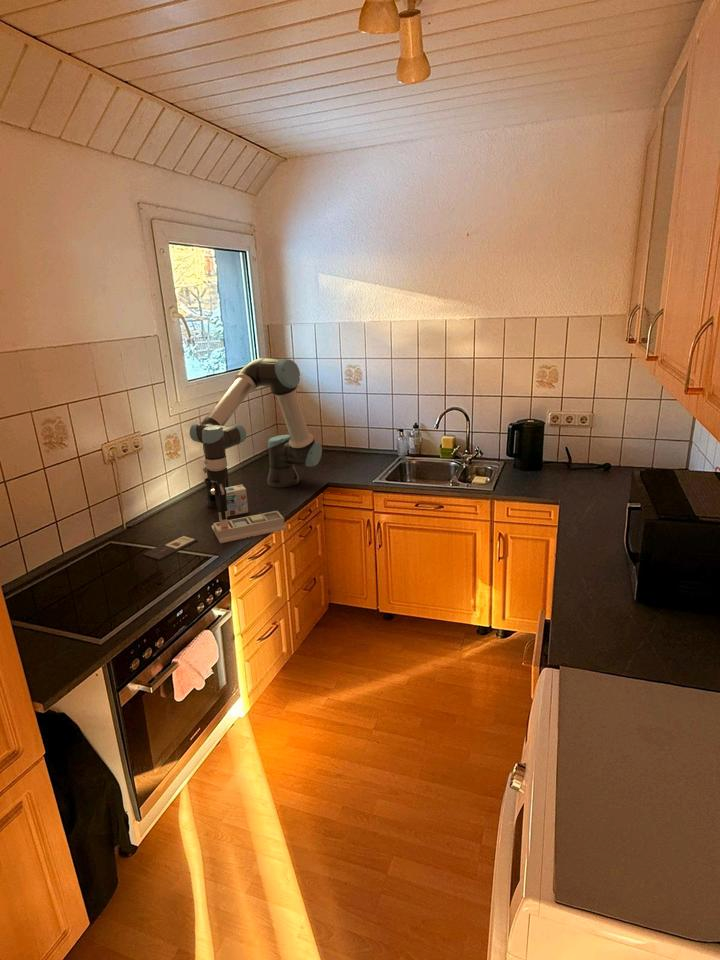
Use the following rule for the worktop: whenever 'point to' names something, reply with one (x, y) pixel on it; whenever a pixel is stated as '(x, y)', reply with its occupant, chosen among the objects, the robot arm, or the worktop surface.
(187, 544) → the chocolate bar
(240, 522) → the slate key
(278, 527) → the keypad board
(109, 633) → the worktop surface
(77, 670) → the worktop surface
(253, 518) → the sage key
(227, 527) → the terracotta key
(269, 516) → the charcoal key
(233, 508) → the light bulb box
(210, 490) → the french press
